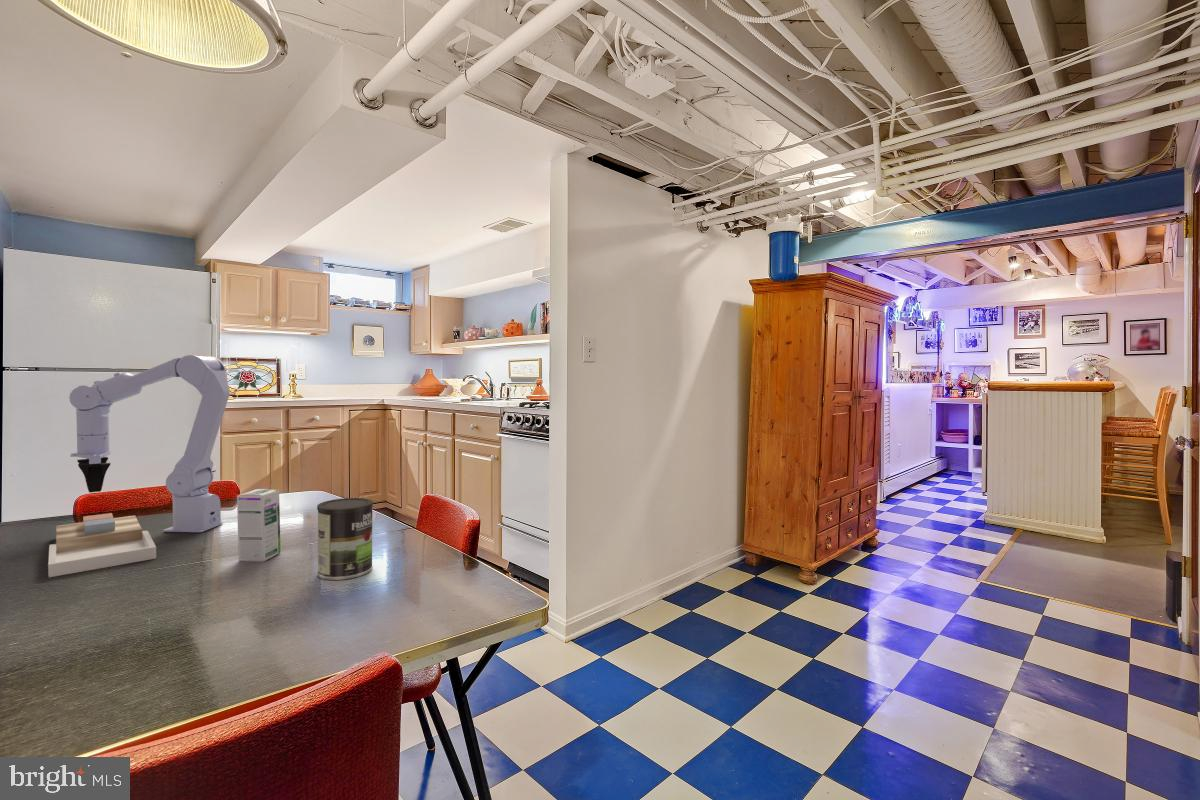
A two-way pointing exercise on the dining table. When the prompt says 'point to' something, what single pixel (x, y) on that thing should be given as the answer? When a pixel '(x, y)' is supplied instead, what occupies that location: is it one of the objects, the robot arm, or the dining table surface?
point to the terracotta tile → (97, 517)
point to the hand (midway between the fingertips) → (94, 489)
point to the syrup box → (258, 525)
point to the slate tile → (99, 526)
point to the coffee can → (344, 538)
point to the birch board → (97, 535)
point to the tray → (100, 556)
